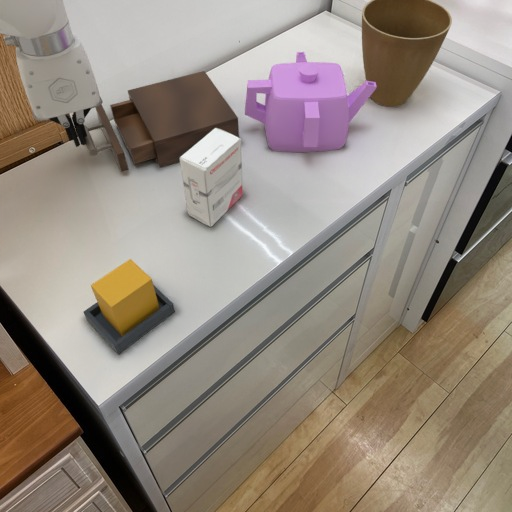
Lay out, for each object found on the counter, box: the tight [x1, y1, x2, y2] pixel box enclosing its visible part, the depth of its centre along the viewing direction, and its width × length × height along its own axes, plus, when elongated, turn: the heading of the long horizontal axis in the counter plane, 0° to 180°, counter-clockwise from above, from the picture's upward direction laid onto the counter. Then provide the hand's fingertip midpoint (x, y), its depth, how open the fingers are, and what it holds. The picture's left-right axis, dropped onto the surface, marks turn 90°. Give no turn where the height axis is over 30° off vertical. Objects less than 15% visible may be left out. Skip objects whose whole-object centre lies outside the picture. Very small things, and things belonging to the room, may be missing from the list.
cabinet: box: [127, 70, 240, 168], centre depth 94 cm, size 15×16×6 cm
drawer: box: [84, 99, 157, 173], centre depth 91 cm, size 17×14×4 cm
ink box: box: [179, 128, 243, 228], centre depth 79 cm, size 9×5×12 cm, turn 145°
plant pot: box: [361, 0, 453, 108], centre depth 96 cm, size 15×15×16 cm
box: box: [90, 258, 160, 336], centre depth 68 cm, size 6×4×7 cm
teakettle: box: [244, 51, 377, 153], centre depth 91 cm, size 17×17×12 cm
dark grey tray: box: [83, 284, 176, 355], centre depth 70 cm, size 9×7×2 cm
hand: (79, 140), depth 88 cm, fingers closed
